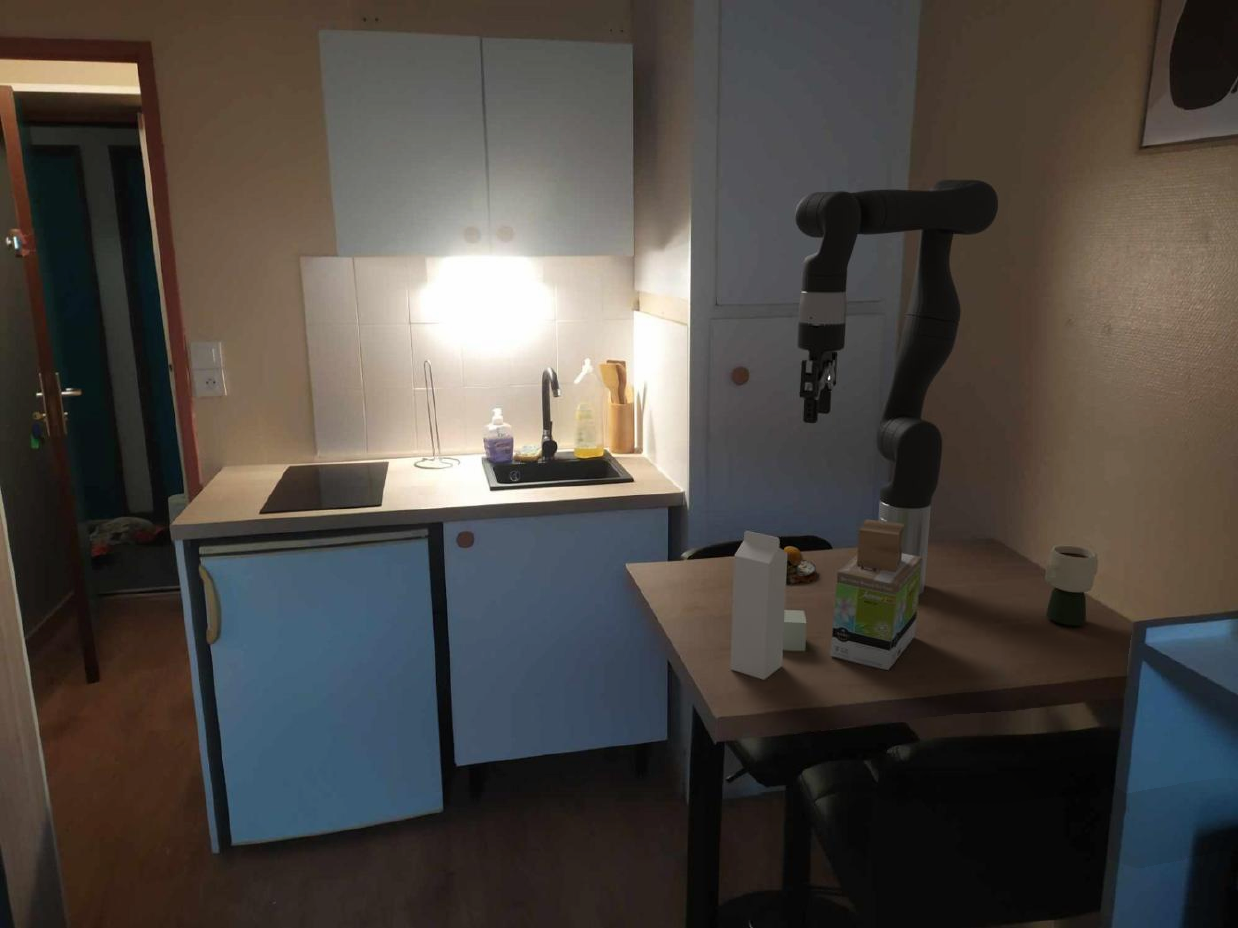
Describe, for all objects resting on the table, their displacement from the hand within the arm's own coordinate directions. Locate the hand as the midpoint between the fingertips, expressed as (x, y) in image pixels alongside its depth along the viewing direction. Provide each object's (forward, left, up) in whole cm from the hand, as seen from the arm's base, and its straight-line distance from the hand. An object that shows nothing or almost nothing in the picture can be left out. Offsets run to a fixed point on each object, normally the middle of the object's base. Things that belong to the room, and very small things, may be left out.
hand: (816, 417), depth 156 cm
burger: (-20, -10, -37) cm, 43 cm away
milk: (+22, -2, -36) cm, 42 cm away
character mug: (-19, +41, -36) cm, 58 cm away
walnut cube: (+6, +13, -21) cm, 26 cm away
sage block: (+11, 0, -36) cm, 38 cm away
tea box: (+6, +13, -36) cm, 39 cm away
